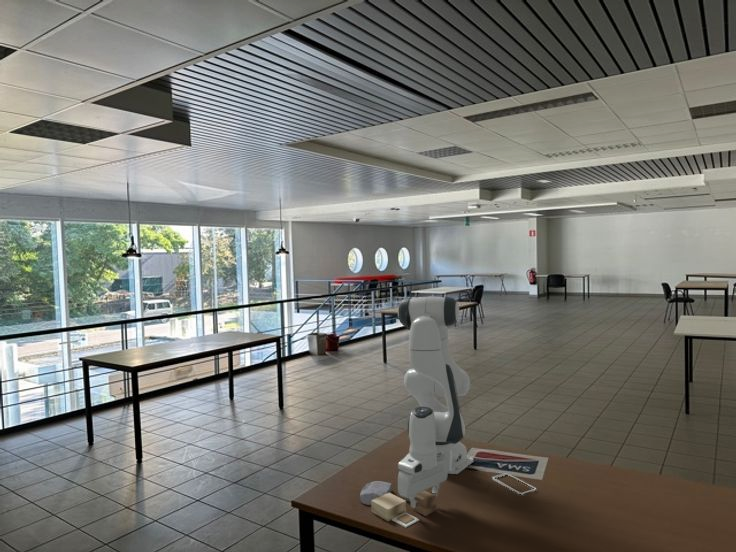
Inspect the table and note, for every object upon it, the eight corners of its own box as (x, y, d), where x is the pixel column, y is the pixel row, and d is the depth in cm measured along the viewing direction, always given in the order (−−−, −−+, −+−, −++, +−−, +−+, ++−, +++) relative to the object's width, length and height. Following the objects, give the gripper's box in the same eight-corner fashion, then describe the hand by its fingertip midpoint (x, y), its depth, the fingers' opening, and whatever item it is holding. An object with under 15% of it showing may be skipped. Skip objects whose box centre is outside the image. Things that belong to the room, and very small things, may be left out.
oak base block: (389, 504, 163) (389, 492, 163) (406, 513, 157) (406, 501, 157) (371, 512, 158) (371, 500, 158) (388, 522, 152) (387, 509, 152)
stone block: (359, 509, 164) (387, 506, 161) (356, 495, 164) (384, 491, 162) (367, 494, 175) (394, 491, 173) (364, 481, 176) (391, 477, 173)
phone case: (491, 480, 180) (521, 497, 166) (491, 476, 180) (521, 493, 166) (507, 476, 183) (537, 492, 169) (506, 472, 183) (537, 488, 169)
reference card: (405, 513, 157) (405, 511, 157) (419, 520, 152) (419, 518, 152) (392, 520, 153) (391, 518, 153) (405, 527, 148) (405, 525, 148)
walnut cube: (424, 505, 162) (424, 490, 162) (435, 510, 158) (435, 495, 158) (414, 510, 158) (413, 495, 158) (425, 516, 155) (425, 500, 155)
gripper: (437, 448, 167) (437, 488, 167) (394, 465, 153) (395, 508, 153) (451, 453, 162) (452, 494, 162) (408, 470, 149) (409, 516, 149)
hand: (424, 501), depth 158 cm, fingers open, 8 cm apart
